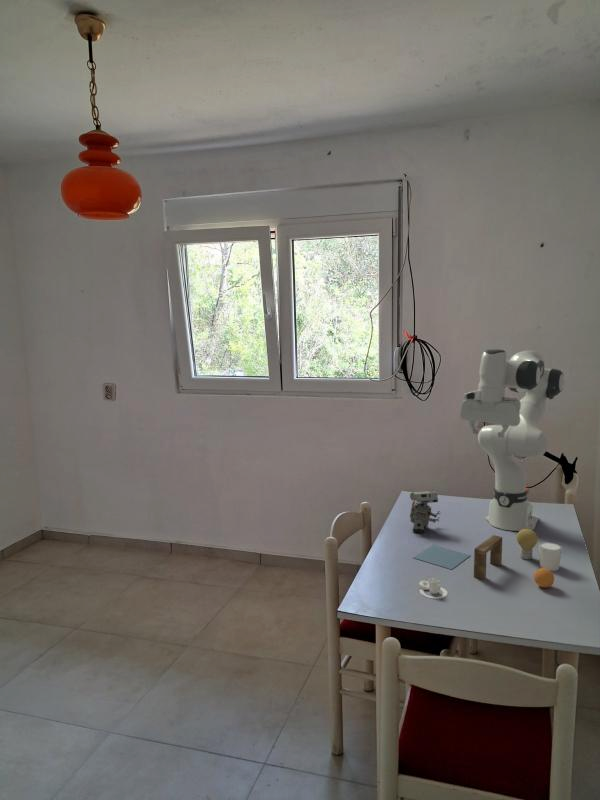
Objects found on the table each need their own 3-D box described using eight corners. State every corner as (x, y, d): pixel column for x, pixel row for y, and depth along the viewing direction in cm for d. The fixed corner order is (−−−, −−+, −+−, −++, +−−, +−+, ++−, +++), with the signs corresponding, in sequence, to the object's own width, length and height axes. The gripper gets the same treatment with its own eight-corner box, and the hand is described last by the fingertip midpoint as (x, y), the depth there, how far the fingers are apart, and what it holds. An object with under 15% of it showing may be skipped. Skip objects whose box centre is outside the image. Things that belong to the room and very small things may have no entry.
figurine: (439, 534, 202) (440, 496, 200) (408, 532, 205) (409, 494, 203) (440, 526, 210) (440, 489, 208) (410, 523, 214) (410, 487, 212)
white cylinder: (551, 573, 169) (552, 552, 168) (533, 565, 175) (533, 544, 174) (565, 568, 172) (566, 547, 171) (547, 560, 178) (548, 540, 177)
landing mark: (433, 545, 192) (433, 544, 192) (470, 555, 183) (470, 555, 183) (413, 558, 182) (413, 557, 182) (451, 569, 173) (451, 569, 173)
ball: (537, 580, 164) (537, 563, 164) (556, 586, 161) (557, 568, 160) (530, 587, 160) (531, 569, 160) (550, 592, 157) (551, 574, 156)
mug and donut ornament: (415, 586, 163) (415, 573, 162) (441, 585, 163) (441, 572, 163) (424, 600, 154) (424, 587, 154) (451, 599, 155) (451, 586, 154)
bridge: (473, 576, 167) (474, 548, 166) (492, 561, 178) (493, 534, 177) (483, 579, 165) (483, 551, 164) (501, 564, 176) (502, 537, 175)
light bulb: (518, 552, 185) (519, 524, 183) (538, 556, 181) (539, 528, 180) (513, 559, 180) (514, 530, 178) (534, 563, 176) (535, 534, 175)
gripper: (524, 398, 181) (521, 439, 182) (467, 394, 195) (464, 431, 196) (517, 398, 177) (514, 440, 177) (459, 393, 190) (456, 432, 191)
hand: (487, 435), depth 187 cm, fingers open, 8 cm apart
